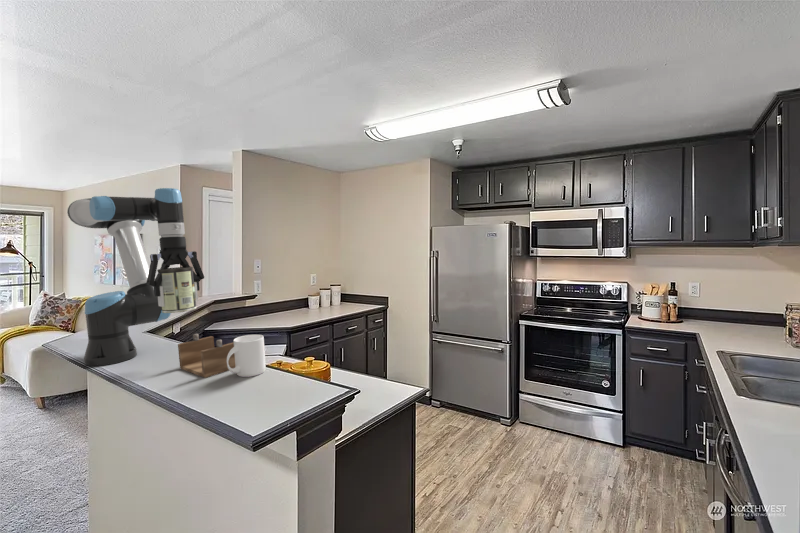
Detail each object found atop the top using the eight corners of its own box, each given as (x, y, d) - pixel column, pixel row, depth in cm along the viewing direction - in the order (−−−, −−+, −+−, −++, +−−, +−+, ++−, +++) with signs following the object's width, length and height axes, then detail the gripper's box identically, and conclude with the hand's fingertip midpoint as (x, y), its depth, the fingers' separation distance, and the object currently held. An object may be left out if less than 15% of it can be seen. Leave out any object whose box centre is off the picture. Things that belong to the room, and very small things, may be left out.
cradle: (180, 368, 131) (177, 338, 130) (213, 358, 139) (210, 330, 138) (205, 377, 121) (202, 345, 120) (239, 367, 130) (236, 336, 129)
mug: (219, 378, 120) (216, 342, 119) (254, 366, 130) (252, 333, 129) (236, 383, 115) (233, 346, 114) (271, 370, 125) (269, 336, 124)
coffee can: (175, 307, 141) (171, 267, 139) (203, 306, 139) (199, 266, 138) (154, 313, 130) (149, 270, 129) (184, 312, 129) (180, 268, 128)
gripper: (138, 237, 122) (146, 310, 124) (211, 234, 140) (217, 298, 141) (128, 238, 126) (136, 308, 128) (201, 235, 144) (206, 297, 146)
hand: (178, 303), depth 135 cm, fingers closed on coffee can, 10 cm apart
